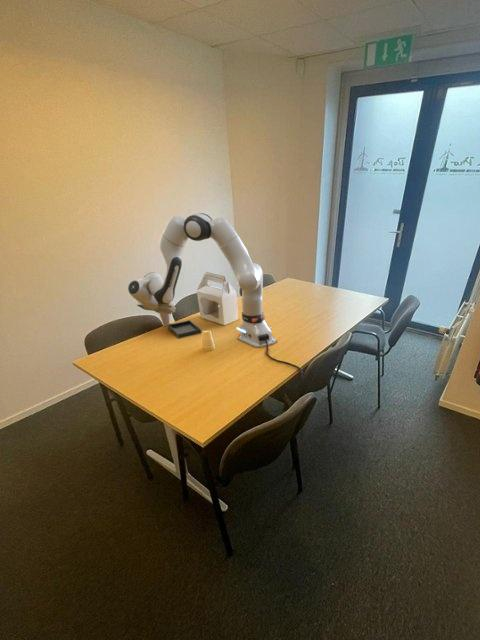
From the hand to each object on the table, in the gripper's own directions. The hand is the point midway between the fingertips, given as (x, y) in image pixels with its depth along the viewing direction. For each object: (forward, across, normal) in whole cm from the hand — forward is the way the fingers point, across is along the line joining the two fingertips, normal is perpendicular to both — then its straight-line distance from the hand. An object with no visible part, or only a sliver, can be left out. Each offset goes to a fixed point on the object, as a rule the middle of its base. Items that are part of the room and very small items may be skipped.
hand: (164, 312), depth 179 cm
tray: (+2, -15, +9) cm, 17 cm away
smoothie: (+5, 0, +6) cm, 8 cm away
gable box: (+19, -26, -8) cm, 33 cm away
